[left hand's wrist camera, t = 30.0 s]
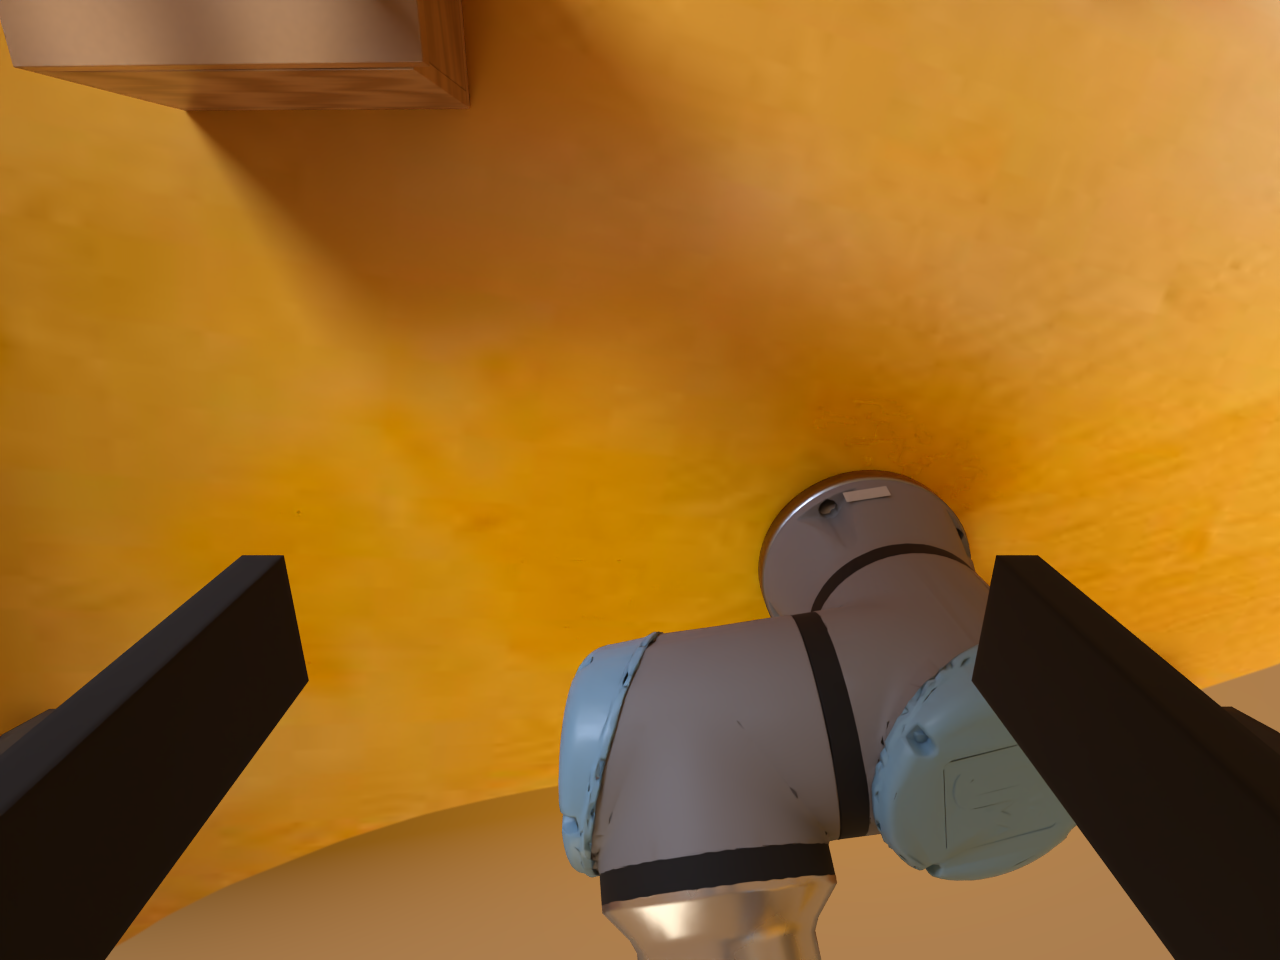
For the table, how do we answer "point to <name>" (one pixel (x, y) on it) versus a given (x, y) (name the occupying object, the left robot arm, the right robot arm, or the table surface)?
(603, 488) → the table surface
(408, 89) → the chest
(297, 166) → the table surface
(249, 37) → the lid
